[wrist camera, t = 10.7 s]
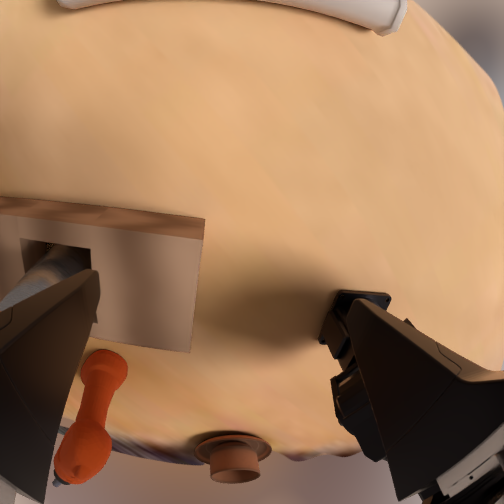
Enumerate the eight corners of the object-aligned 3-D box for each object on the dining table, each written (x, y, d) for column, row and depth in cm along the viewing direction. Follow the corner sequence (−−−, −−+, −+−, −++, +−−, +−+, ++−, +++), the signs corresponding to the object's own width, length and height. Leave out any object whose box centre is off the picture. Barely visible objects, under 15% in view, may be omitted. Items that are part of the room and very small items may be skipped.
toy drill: (56, 411, 29) (34, 493, 15) (99, 336, 26) (63, 453, 13) (84, 426, 31) (70, 509, 17) (137, 359, 28) (123, 478, 15)
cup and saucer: (262, 456, 41) (267, 485, 36) (194, 456, 39) (195, 486, 34) (276, 426, 36) (284, 461, 31) (193, 426, 34) (193, 463, 29)
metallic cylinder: (83, 225, 20) (-7, 325, 9) (108, 271, 22) (48, 390, 11) (47, 245, 21) (-37, 339, 9) (72, 287, 23) (10, 394, 11)
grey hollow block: (205, 219, 22) (203, 240, 18) (192, 322, 26) (190, 353, 22) (-14, 195, 17) (-39, 209, 14) (1, 285, 21) (-18, 306, 18)
